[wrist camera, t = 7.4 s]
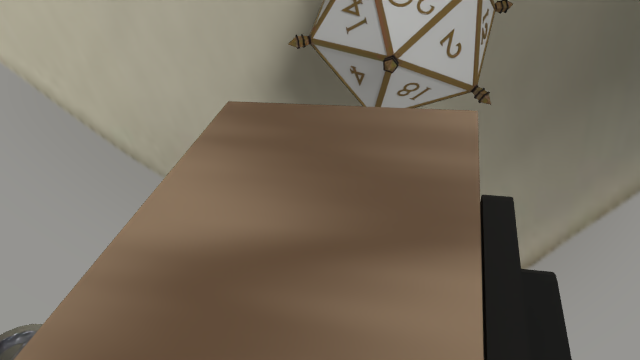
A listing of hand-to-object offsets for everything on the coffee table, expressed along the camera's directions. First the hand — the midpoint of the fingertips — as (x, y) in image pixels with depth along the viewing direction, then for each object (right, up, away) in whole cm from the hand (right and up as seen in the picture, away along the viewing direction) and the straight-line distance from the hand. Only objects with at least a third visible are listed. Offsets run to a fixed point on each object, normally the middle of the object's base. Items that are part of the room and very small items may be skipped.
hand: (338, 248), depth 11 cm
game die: (+4, +11, +16) cm, 20 cm away
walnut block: (0, +1, +1) cm, 2 cm away
